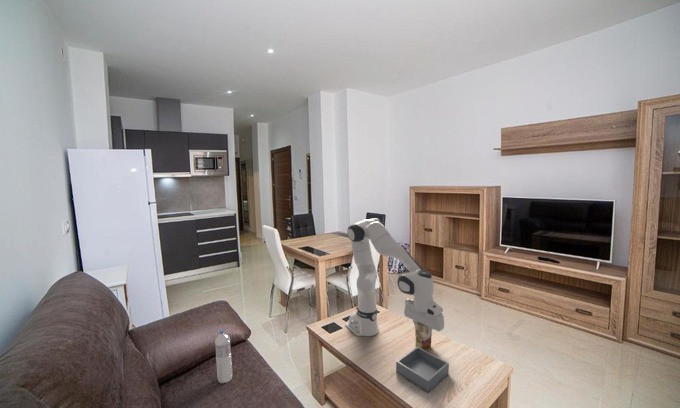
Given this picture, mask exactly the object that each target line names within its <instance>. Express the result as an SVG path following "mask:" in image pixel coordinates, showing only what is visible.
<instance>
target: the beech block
mask: <svg viewBox="0 0 680 408" xmlns="http://www.w3.org/2000/svg"><path fill="white" fill-rule="evenodd" d="M414 329H415V336H414V337H415V338H416V337H418V338H420V339H422V340H423V341H425V340H426V339H428V338H429V337H430V335H428V334H426V333H427V332H426V331H427V330H429V328H428V326H425V325H423V324H421V323H419V322H416V327H415V326H414Z"/></svg>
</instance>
